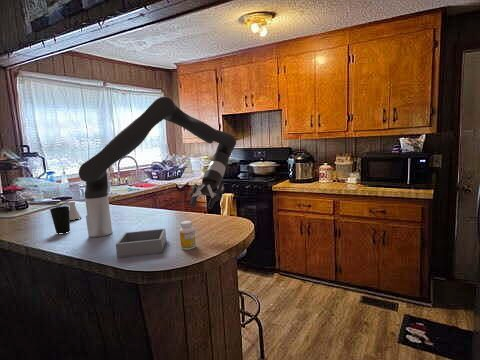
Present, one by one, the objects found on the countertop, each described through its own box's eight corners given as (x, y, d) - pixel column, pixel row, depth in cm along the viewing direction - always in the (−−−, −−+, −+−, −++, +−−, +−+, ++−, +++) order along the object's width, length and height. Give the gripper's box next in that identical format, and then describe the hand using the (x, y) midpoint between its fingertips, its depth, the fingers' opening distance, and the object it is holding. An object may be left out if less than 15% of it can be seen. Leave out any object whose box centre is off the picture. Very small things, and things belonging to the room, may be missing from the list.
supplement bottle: (181, 245, 114) (178, 221, 112) (195, 243, 115) (193, 219, 113) (181, 250, 108) (179, 224, 107) (196, 248, 110) (194, 223, 108)
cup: (76, 230, 144) (72, 206, 143) (62, 235, 137) (58, 210, 136) (64, 229, 147) (60, 206, 145) (50, 235, 140) (46, 209, 138)
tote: (117, 257, 106) (115, 244, 105) (126, 244, 119) (124, 232, 118) (162, 252, 108) (161, 239, 107) (166, 240, 121) (165, 228, 120)
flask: (70, 218, 170) (68, 201, 169) (83, 217, 171) (81, 200, 170) (64, 222, 163) (61, 204, 162) (78, 220, 164) (75, 203, 162)
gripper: (196, 168, 127) (181, 201, 118) (224, 168, 120) (210, 202, 112) (204, 179, 132) (190, 211, 124) (232, 179, 125) (219, 213, 117)
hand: (200, 207), depth 118 cm, fingers open, 8 cm apart
